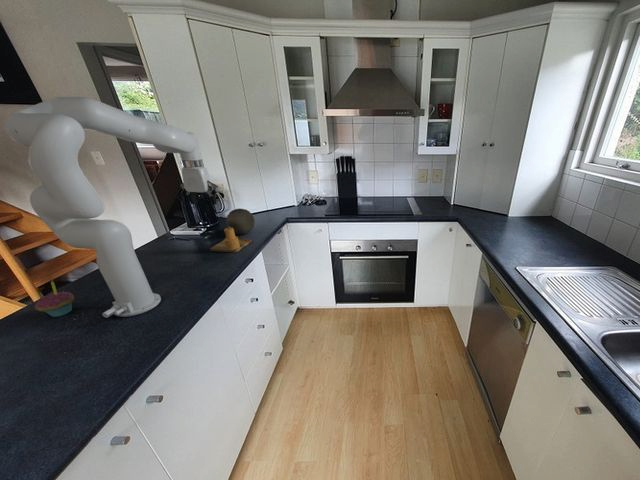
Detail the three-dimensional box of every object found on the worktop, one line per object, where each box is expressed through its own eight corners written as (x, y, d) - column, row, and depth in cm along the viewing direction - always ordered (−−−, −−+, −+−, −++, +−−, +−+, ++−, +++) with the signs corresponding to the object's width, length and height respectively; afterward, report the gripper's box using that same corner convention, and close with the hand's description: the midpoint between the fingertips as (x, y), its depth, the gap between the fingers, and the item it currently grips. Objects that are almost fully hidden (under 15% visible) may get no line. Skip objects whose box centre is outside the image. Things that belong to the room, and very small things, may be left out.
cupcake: (78, 302, 97) (60, 273, 92) (81, 311, 92) (63, 281, 87) (41, 313, 91) (21, 283, 86) (43, 324, 86) (21, 293, 81)
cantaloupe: (227, 234, 157) (220, 208, 150) (252, 228, 165) (247, 204, 159) (234, 241, 147) (227, 214, 141) (261, 235, 156) (255, 209, 149)
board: (235, 252, 135) (235, 250, 134) (209, 250, 136) (209, 248, 136) (251, 241, 147) (251, 239, 147) (227, 240, 149) (227, 237, 148)
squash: (235, 250, 134) (229, 229, 129) (224, 249, 135) (218, 228, 130) (242, 245, 140) (237, 225, 135) (231, 244, 140) (226, 224, 135)
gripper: (167, 164, 112) (179, 205, 119) (205, 166, 110) (215, 207, 117) (181, 162, 119) (193, 201, 126) (218, 163, 117) (227, 203, 124)
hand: (204, 204), depth 122 cm, fingers open, 9 cm apart
